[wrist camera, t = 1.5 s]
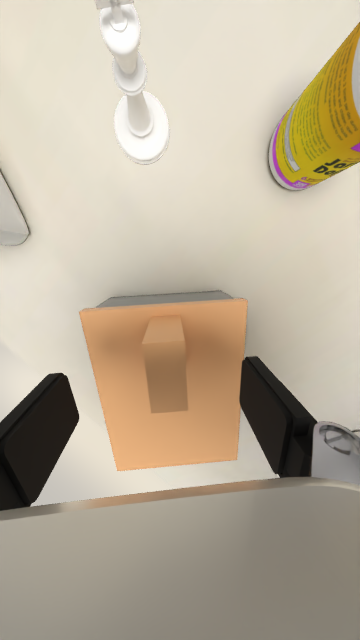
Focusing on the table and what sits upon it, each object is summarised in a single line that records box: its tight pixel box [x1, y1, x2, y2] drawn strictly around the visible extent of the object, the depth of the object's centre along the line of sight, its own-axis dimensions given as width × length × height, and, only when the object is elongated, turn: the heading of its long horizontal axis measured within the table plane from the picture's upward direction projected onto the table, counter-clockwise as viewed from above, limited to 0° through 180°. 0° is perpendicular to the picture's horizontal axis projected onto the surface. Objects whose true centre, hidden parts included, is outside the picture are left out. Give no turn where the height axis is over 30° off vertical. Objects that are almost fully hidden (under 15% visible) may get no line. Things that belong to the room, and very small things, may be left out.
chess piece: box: [95, 0, 170, 164], centre depth 12 cm, size 5×5×10 cm
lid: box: [79, 298, 248, 471], centre depth 16 cm, size 19×14×7 cm
